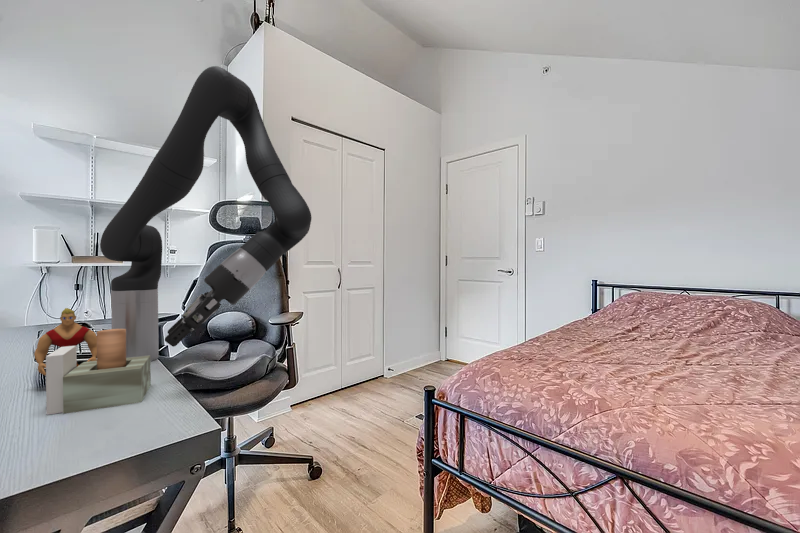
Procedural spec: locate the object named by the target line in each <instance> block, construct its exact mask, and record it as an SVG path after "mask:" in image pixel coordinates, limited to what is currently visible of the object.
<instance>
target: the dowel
mask: <svg viewBox="0 0 800 533" xmlns="http://www.w3.org/2000/svg"><path fill="white" fill-rule="evenodd" d="M96 336H97V357H96V358H97V370H100V369H110V368H119V367H126V329H112V328H110V329H101V330H99V331H96Z"/></svg>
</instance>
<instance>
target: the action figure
mask: <svg viewBox="0 0 800 533" xmlns="http://www.w3.org/2000/svg"><path fill="white" fill-rule="evenodd" d="M59 318H60V321H61V323H60V324H58V325H57V326H56V327H54V328H52V329H51V330H48V331H45V333H44V334H43V335H42V336H41V337H39V339H38V342H37V345H36V349H35V350H34V353H33V354H34V358H35V360H36V363H37V364H38V365H37V371H38V372H39V373H40V374H41V375H43V376H46V363H44V361H45V360H46V356H48V353H49V350H50V347H51V346H55V347H58V348H60V347H66V346H76V347H77V346H78V345H79V344H82V343H83V342H86V344H87V347H88V349H89V352H90V353H91V357H90V358H89V359H88V360H86V362H90V361H97V332H94V331H93V330H92V329H90V328H89V327H86V326H83V325H81V324H79V323H77V322H75V320H77V316H76V313H75V310H72V309H71V308H67V307H65V308H64V309H63V310H62V311H61V313H60V317H59ZM79 365H80V364H78V363H77V367H78V366H79Z"/></svg>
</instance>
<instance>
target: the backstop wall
mask: <svg viewBox="0 0 800 533" xmlns="http://www.w3.org/2000/svg"><path fill="white" fill-rule="evenodd" d="M77 358H78V357H77V346H66V347H58V348H57V349H55V350H53V352H51V353H49V354H47V355H46V357H45V364H46V368H45V372H46V375H45V392H46V393H45V396H46V402H45V403H46V407H45V409H46V416H48V415H54V414H61V413H62V414H63V377H64V376H65V375H67V374H68V373H69V372H71V371H72V370H73V369H75V368H76V367H77V364H78V361H77Z"/></svg>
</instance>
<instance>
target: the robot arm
mask: <svg viewBox="0 0 800 533" xmlns="http://www.w3.org/2000/svg"><path fill="white" fill-rule="evenodd" d="M183 105H184V106H183V108H182V109H181V111H180V114H179V115H178V118H177V120H176V121H175V123H174V125H173V127H172V128H171V129H170V132H169V134H167V135H168V136H167V137H166V139H165V140H164V141H163V142H164V143H163V144H162V146H161V147H160V149H159V150H158V152H157V153H156V155H154V158H153V159H152V161H151V162H150V164H149V165H148V167H147V169H146V171H145V174H144V175H143V176H142V178H141V180H140V181H139V182H138V184H137V186H136V187H135V188H134V190H133V192H132V193H131V195H130V197H129V198H127V201H126V202H125V203H124V204H123V206H122V207H120V209H119V210H118V212H117V213H116V214H115V215H114V216H113V218H112V219H111V220H110V222H108V224H107V226H105V228H104V231H103V232H102V235H101V239H100V243H99V246H100V248H99V249H100V252H101V254H102V255H103V257H105V258H106V259H107V260H111V261H113V262H114V261H115V262H124V263H125V262H127V263H128V262H131V264H130V268H129V269H128V270H127V271H126V272H124V273H123V274H121V275H118V276H116V277H113V278H112V279H111V282H110V290H111V291H110V300H111V302H110V303H111V306H110V307H111V308H110V309H111V329H126V358H130V357H140V356H150V362H152V361H154V360H155V361H156V360H158V359H159V358H160V357H159V355H160V354H159V352H160V351H159V350H160V349H159V341H160V340H159V281H160V280H161V279H160V278H161V277H162V276H161V275H162V264H163V263H162V260H163V240H162V236H161V233H160V232H159V230H158V229H157V228H156V227H155V226H152V225H148V223H149V222H150V221H151V220H152V219H153V218H154V217H155V216H157V215H159V214H161V213H162V212H163V211H165V210H167V209H169V208H171V207H172V206H174V205H175V204H177V203H178V202H180V201H181V200H183V199H184V198H185V197H186V196H187V195H188V194H189V193H190V192H191V191H192V189H193V187H194V186H195V184H196V183H197V181H198V180H199V178H200V177H201V174H202V173H203V169H204V162H205V161H204V160H205V141H206V137H207V136H208V133H209V131H210V130H211V127H212V125H213V124H215V121H217V120H216V119H218V117H220V118H222V119H225V120H227V121H229V122H230V124H232V125H233V127H234V129H235V130H236V131H237V133H238V134H239V136H240V138H241V140H242V143H243V146H244V152H245V161H246V166H247V169H248V171H249V172H248V173H250V176H251V178H252V180H253V181H254V183H255V185H256V188H257V189H258V191H259V193H260V194H261V196H262V197H263V199H264V200H266V201H267V202H268V204H269V206H270V208H271V209H272V211H273V213H274V216H275V218H276V220H275V221H274V222H273V223H272V224H271V225H270V226H268V227H267V228H266V229H265V230H264V231H258V232H256V233H255V234H253V235H252V236H251V237H250V238H249V239H248V240H247V241H246V242H245V243H243V244H242V245H241V246H240V247H239V248H238V249H236V250H235V251H234V252H232V253H231V254H230V255H229V256H228V257H226V258H225V259H224V260H223V261H222V262H220V264H219V265H218V266H216V267H215V268H214V269H213V270H212V271H211V272H210V273H209V274H208V275H206V277H205V278H204V279H203V281H204V283H205V284H206V285H207V286H209V287H210V288H211V289H210V291H207V292H204V293H201V294H200V295H199V296H197V298H196V299H195V301H194V302H192V304H190V305H189V306H188V308H187V309H186V310H185V312H184V313H183V314H182V316H181V318H180V319H178V320H177V321H176V322H175V323H174V324H173V325H172V326H171V327H170V328H169V329H168V330H167V335H166V336H165V337H164V341H165V343H167V344H169V345H170V346H171V347H173V348H174V347H176V346H177V345H179V344H180V343H181V341H183V340H184V339H185V338H186V337H187V336H188V335H189V334H190V333H191V332H193V331H196V330H198V329H199V328H200V326H201V325H202V324H203V323H205V322H207V321H208V319H209V318H210V317H211V316H212V315H214V314H215V313H216V312H217V311H218V310H219V309H220V308H221V301H222V300H225V301H226V302H227V303H229V304H230V305H232V306H234V305H236V304H237V303H238V302H239V301H240V300H241V299H242V298H243V297H244V296H246V294H247V293H248V292H249V291H250V290H251V289H252V288H253V287H254V286H255V285H256V284H257V283H258V282H260V280H261V279H262V278H263V276H264V275H265V274H266V273H267V271H269V269H271V268H272V267H273V266H274V265H275V264H276V263H277V262H278V261H279V260H280V258H281V257H282V256H283V255H284V254H286V253H288V252H289V251H290V250H291V249H292V248H294V247H295V246H296V245H298V244H299V243H300V242H301V241H302V240H303V239H304V238H305V237H306V236H307V234H308V233H309V232H310V229H311V224H312V223H311V222H312V212H311V209H310V207H309V205H308V204H307V202H306V201H305V199H304V197H303V196H302V194H301V193H300V192H299V190H298V189H297V188H296V187H295V186H294V184H293V182H292V180H291V178H290V176H289V174H288V172H287V170H286V169H285V167H284V165H283V163H282V162H281V159H280V157H279V155H278V153H277V152H276V149H275V147H274V145H273V143H272V141H271V138H270V136H269V134H268V132H267V129H266V126H265V123H264V121H263V118H262V115H261V112H260V109H259V106H258V103H257V100H256V97H255V95H254V93H253V91H252V89H251V87H250V86H249V85H248V84H247V83H246V82H244V81H243V80H241V79H240V78H238V77H237V76H235V75H234V74H232V73H231V72H229V71H228V70H227V69H225V68H223V67H221V66H218V65H215V66H209V67H207V68H205V69H204V70H203V71H202V72H201V73H200V74H199V75H198V76H197V78H196V80H195V81H194V83H193V86H192V87H191V90H190V92H189V94H188V96H187V99H186V101H185V103H184V104H183Z"/></svg>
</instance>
